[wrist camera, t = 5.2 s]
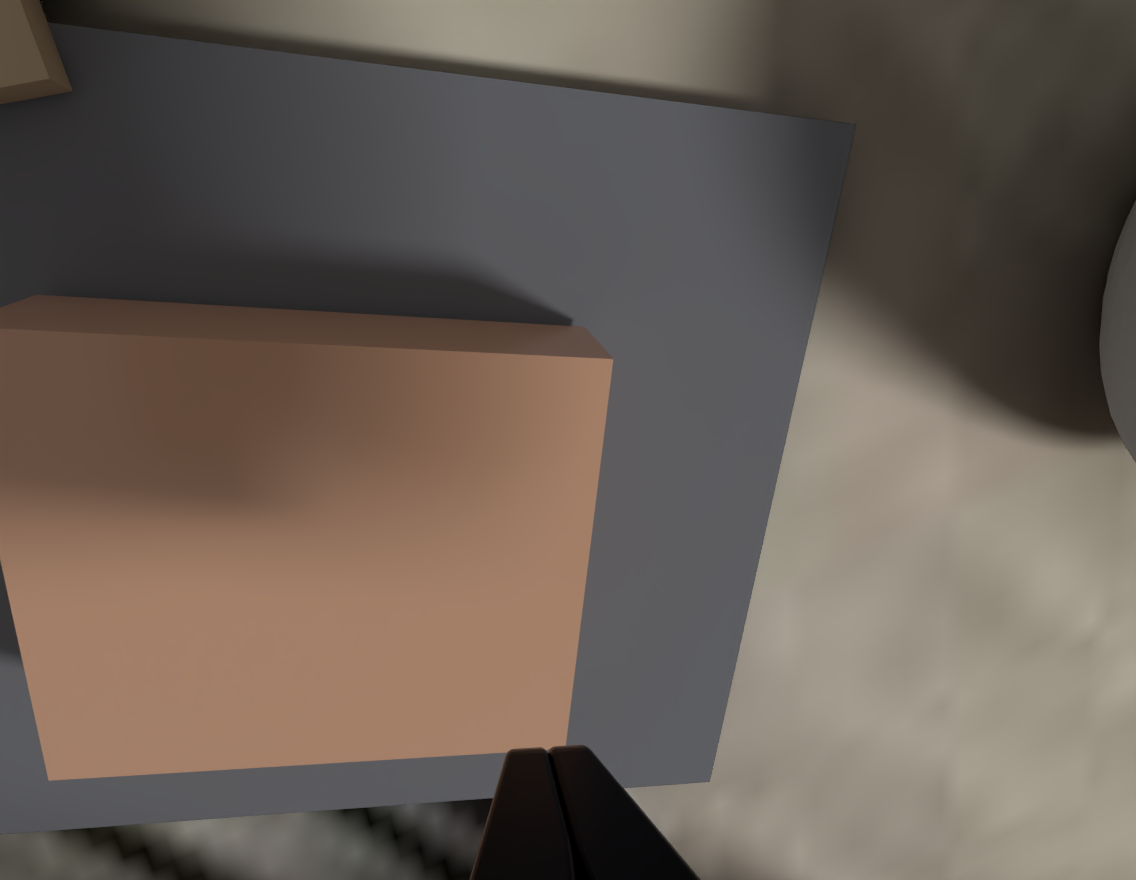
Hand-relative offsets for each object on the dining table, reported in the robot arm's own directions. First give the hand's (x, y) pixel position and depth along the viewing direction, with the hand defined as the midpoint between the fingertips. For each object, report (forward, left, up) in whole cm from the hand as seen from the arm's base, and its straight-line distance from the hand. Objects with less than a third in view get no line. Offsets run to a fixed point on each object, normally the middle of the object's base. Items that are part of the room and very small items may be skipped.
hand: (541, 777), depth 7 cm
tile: (-1, 0, -5) cm, 5 cm away
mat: (+3, 0, -7) cm, 7 cm away
